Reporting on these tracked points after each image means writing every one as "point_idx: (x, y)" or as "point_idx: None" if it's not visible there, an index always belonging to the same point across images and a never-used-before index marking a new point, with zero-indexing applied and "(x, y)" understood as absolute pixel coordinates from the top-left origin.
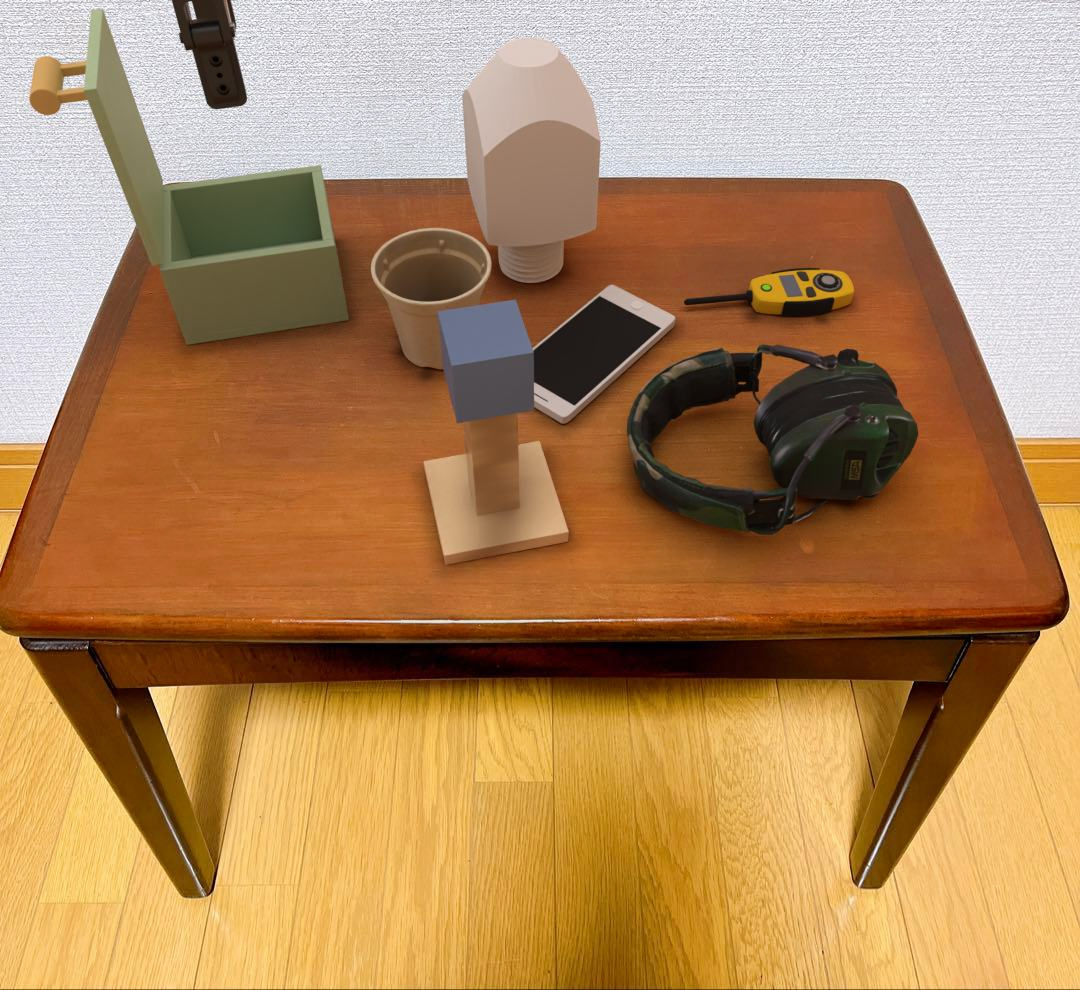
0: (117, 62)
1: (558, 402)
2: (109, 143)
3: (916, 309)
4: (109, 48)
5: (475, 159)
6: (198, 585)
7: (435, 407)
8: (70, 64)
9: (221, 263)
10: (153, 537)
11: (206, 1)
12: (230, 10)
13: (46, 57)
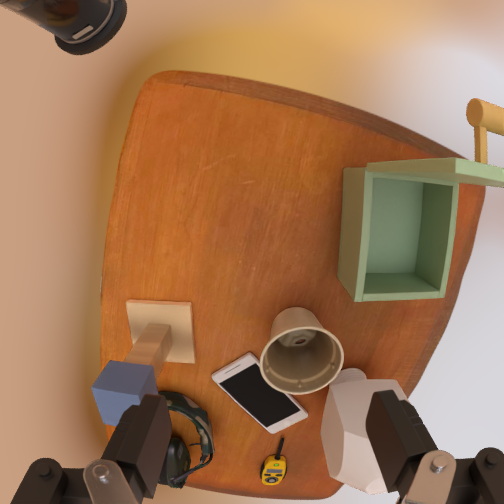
0: None
1: (222, 377)
2: (420, 164)
3: (253, 490)
4: None
5: None
6: (135, 170)
7: (241, 316)
8: None
9: (362, 215)
10: (174, 143)
11: (385, 437)
12: (372, 446)
13: None
